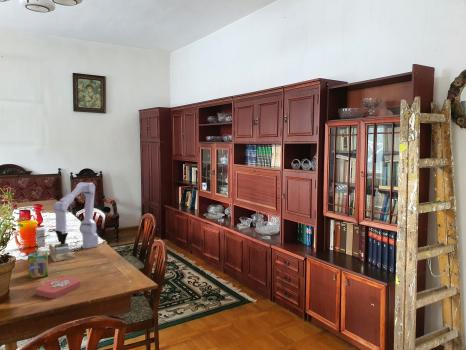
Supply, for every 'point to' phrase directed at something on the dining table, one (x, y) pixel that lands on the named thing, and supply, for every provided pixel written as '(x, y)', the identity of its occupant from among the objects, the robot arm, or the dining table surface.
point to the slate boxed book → (62, 250)
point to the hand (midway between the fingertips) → (61, 242)
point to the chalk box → (37, 264)
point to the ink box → (40, 237)
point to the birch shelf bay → (60, 256)
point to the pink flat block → (58, 287)
